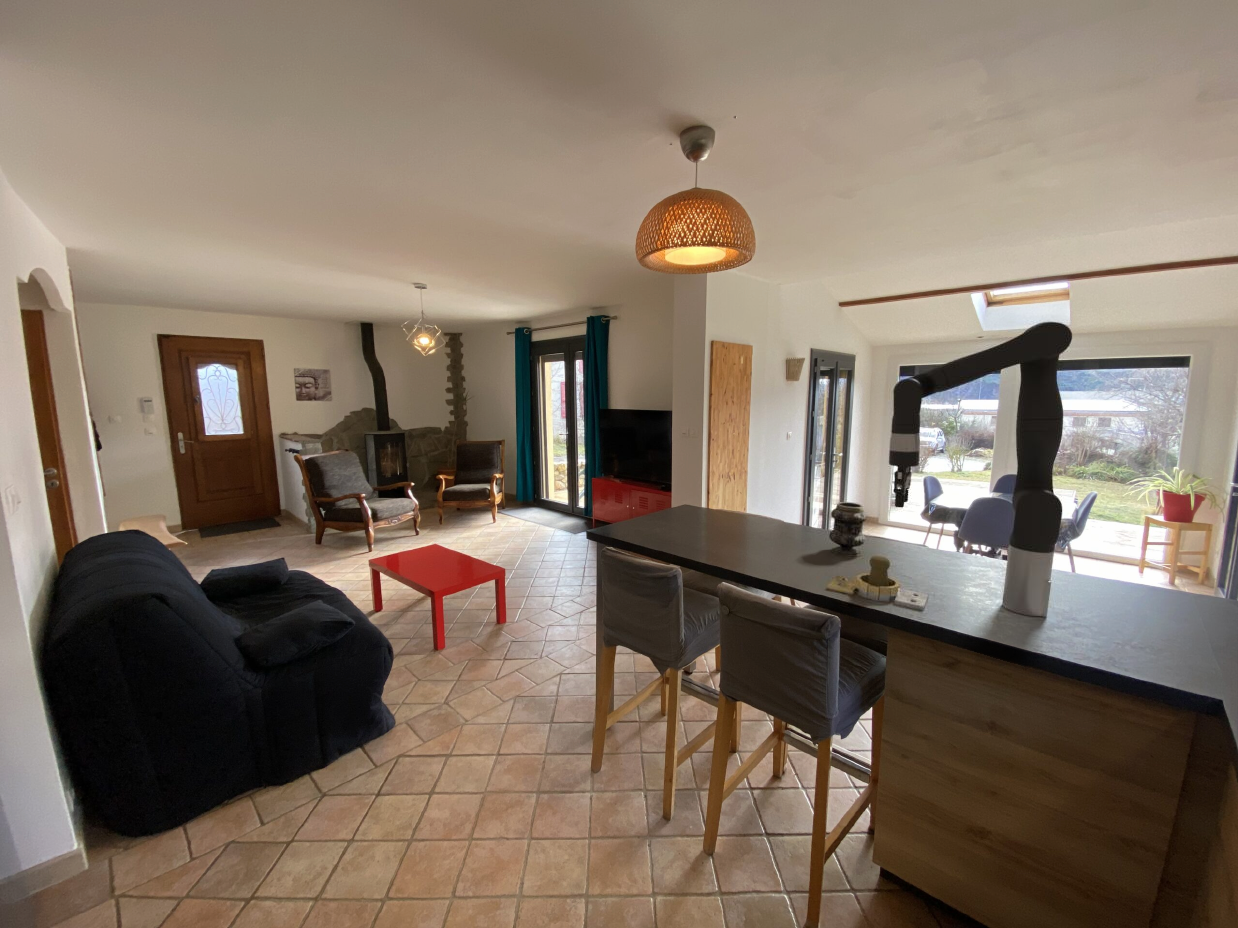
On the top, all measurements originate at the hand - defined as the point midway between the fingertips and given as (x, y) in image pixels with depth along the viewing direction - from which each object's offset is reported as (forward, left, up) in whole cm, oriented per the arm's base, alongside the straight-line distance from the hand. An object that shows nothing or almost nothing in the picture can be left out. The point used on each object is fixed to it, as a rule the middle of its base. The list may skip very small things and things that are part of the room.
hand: (901, 504), depth 144 cm
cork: (+3, +7, -26) cm, 27 cm away
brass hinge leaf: (+7, +8, -26) cm, 28 cm away
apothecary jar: (+20, -27, -26) cm, 42 cm away
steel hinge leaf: (0, +8, -26) cm, 27 cm away
